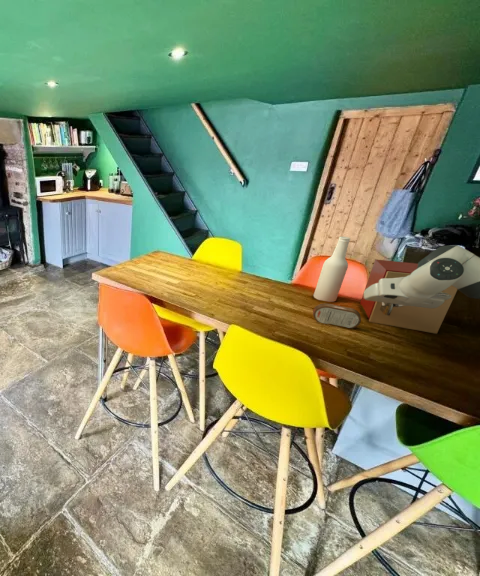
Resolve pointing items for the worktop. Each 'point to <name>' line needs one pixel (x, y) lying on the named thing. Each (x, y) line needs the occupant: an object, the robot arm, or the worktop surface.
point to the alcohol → (333, 273)
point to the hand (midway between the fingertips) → (389, 304)
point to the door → (412, 312)
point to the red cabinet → (380, 273)
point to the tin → (337, 315)
